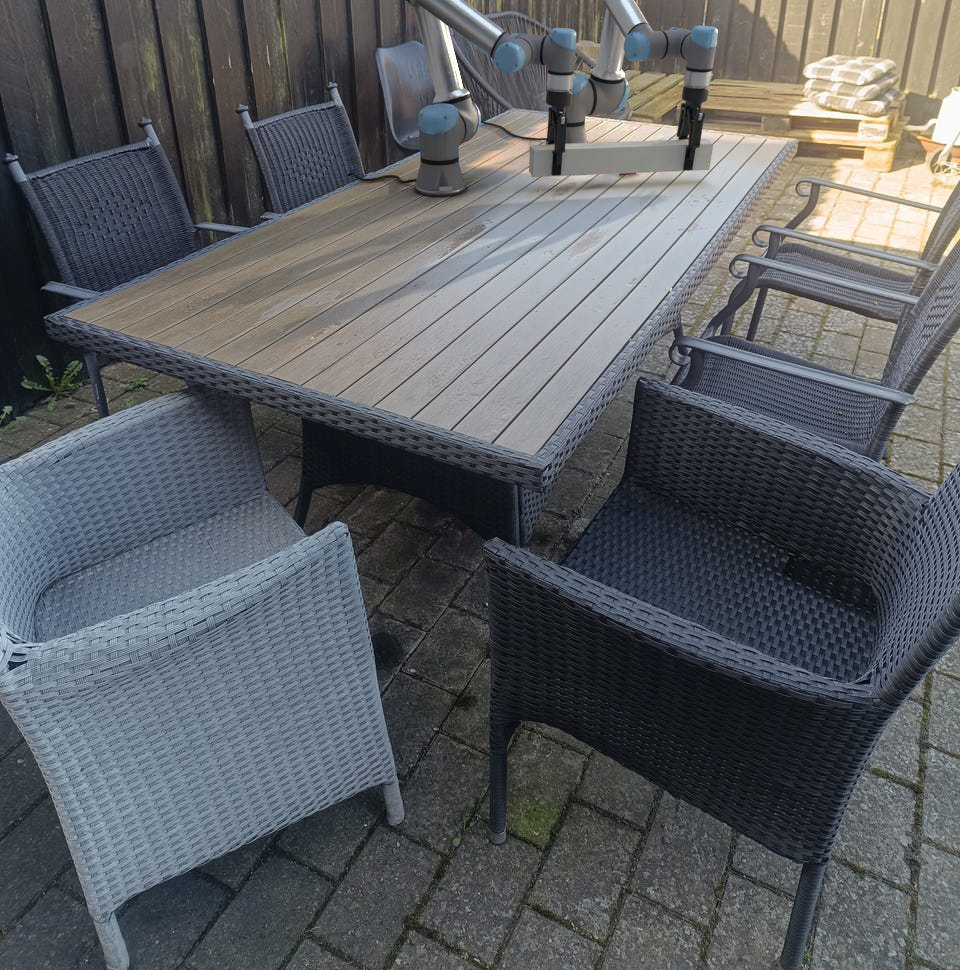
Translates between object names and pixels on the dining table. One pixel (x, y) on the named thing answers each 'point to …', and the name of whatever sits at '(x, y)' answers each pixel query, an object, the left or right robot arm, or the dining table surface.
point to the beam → (619, 157)
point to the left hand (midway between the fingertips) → (553, 171)
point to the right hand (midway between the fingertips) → (683, 166)
